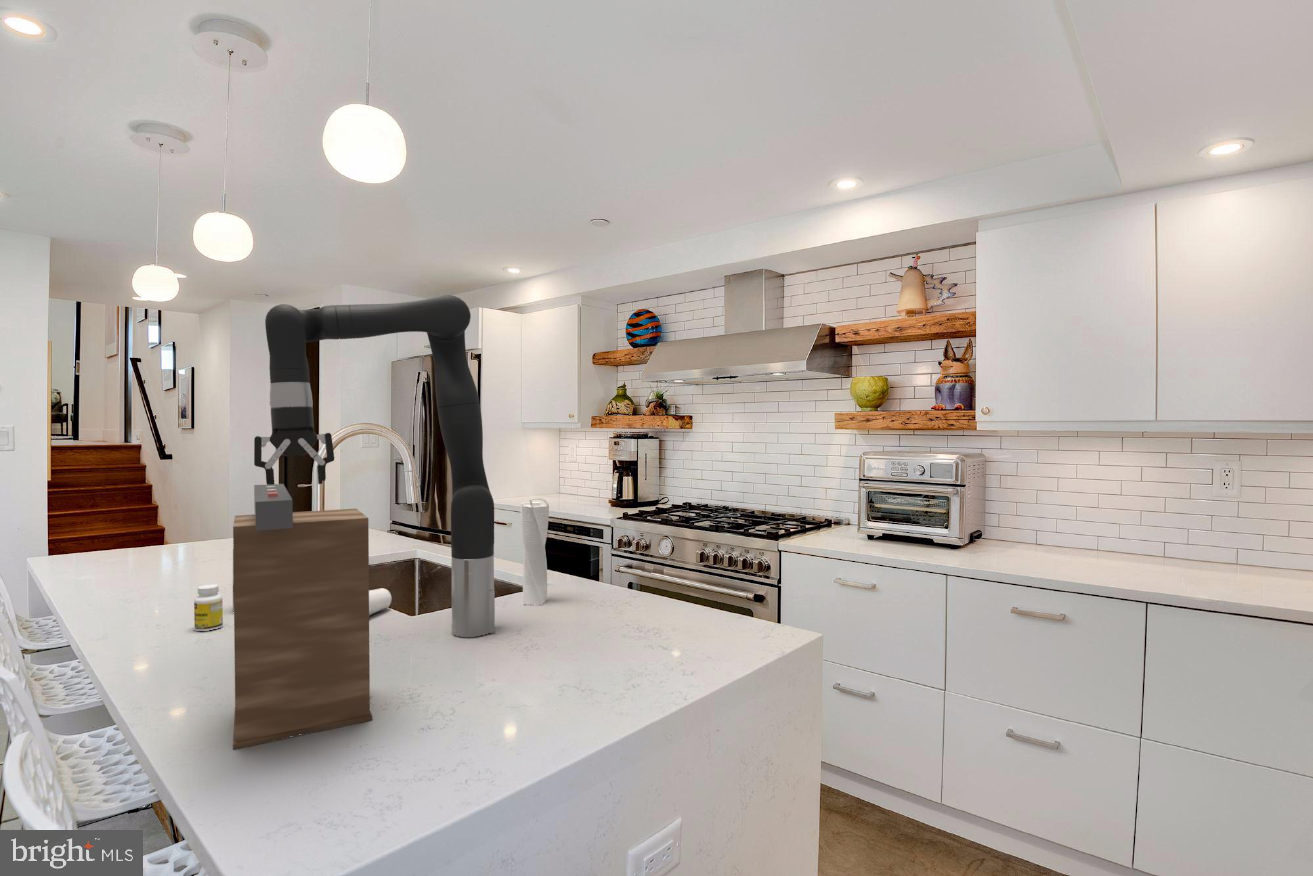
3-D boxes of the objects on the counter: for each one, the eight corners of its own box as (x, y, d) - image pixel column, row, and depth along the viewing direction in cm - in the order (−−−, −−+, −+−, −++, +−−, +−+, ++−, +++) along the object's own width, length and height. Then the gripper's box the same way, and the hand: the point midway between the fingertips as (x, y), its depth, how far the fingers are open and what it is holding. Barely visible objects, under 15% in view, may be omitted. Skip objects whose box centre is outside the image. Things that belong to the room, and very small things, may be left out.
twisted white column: (546, 607, 172) (546, 498, 172) (517, 606, 172) (517, 497, 172) (551, 599, 180) (551, 494, 180) (523, 598, 180) (523, 494, 180)
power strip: (254, 507, 119) (254, 482, 119) (283, 506, 121) (283, 481, 121) (255, 530, 93) (255, 498, 93) (292, 528, 95) (292, 496, 95)
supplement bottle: (188, 630, 152) (188, 587, 152) (212, 624, 157) (212, 582, 157) (204, 633, 150) (204, 590, 150) (228, 626, 155) (227, 584, 155)
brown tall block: (234, 712, 109) (232, 515, 108) (359, 689, 119) (357, 508, 118) (233, 749, 96) (230, 527, 96) (372, 720, 106) (370, 518, 106)
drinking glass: (384, 617, 170) (343, 631, 155) (367, 599, 172) (324, 611, 157) (399, 597, 169) (359, 609, 155) (382, 579, 171) (340, 589, 156)
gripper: (329, 405, 143) (334, 481, 143) (251, 407, 136) (256, 488, 136) (332, 403, 136) (337, 483, 137) (250, 406, 129) (255, 490, 129)
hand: (296, 485), depth 136 cm, fingers open, 8 cm apart
